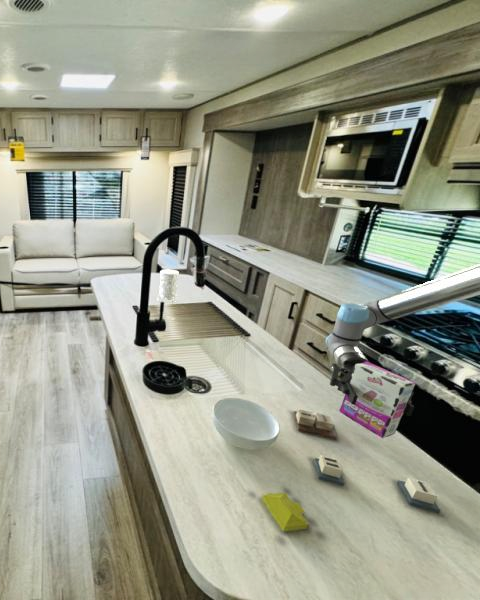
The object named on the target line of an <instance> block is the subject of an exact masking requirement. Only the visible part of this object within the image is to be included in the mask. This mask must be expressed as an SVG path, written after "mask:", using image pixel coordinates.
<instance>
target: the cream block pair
mask: <svg viewBox="0 0 480 600" xmlns="http://www.w3.org/2000/svg"><path fill="white" fill-rule="evenodd" d="M292 415H293V417H294V421H295V425H296V428H297V431H298V432H302V433H305V434H310V435H313V436H318V437H322V438H326V439H330V440H333V441H336V440H337V436H336V435H337V434H336V432H335V430H334V425H335V424H334V422H333V420H332V418H331V415H326V414H322V413H317V412H315V414H313V412H312V411H309V410H304V409H300V408H298V409H297V410H293V412H292Z"/></svg>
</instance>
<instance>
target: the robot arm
mask: <svg viewBox="0 0 480 600" xmlns="http://www.w3.org/2000/svg"><path fill="white" fill-rule="evenodd" d="M476 296H480V264H477V265H474V266H471V267H469V268H466V269H462V270H460V271H457V272H454V273H452V274H448V275H446V276H442V277H440V278H436V279H434V280H431V281H427V282H425V283H423V284H419V285H416V286H414V287H411V288H407V289H406V290H402V291H399V292H396V293H394V294H391V295H388V296H385V297H383V298H379V299H376V300H374V301H369V302H367V303H364V304H360V303H354V302H349V303H348V302H347V303H343V304H341V306H340V308H339V310H338V312H337V314H336V319H335V322H334V327H333V330H332V333H330V334H329V335H327V336H326V338H325V346H326V350H327V351H328V352H329V354H330V355H331V357H332V358H333V360H334V361H335V363H331V367H330V370H329V371H330V373H331V376H330V381H329V385H330V386H331V387H337V391H339V392H341V393H342V394H343V395H345V394H346V395H347V397H348V399H349V400H350V402H351V404H353V405H355V404H356V401H357V398H358V396H357V394H356V392H355V391H354V389H353V387H352V386H351V384H350V383H349V382H350V379H351V376H352V372H353V369H354V367H355V364H359V363H363V362H369V363H371V362H370V361H369V360H368V358H367V357H366V355H364V353H363V352H362V350H361V349H360V348H359V345H360V342H361V340H362V337H363V333H364V332H365V330H366V329H368V328H371V327H374V326H376V325H379V324H382V323H386V322H390V321H392V320H396V319H399V318H403V317H406V316H410V315H413V314H417V313H420V312H423V311H427V310H430V309H435V308H438V307H441V306H445V305H449V304H452V303H455V302H459V301H462V300H466V299H470V298H473V297H476ZM339 373H342V374H343V375H344V376H343V377H342V378H340V379H338V377H339ZM413 395H414V390H413V391H412V394H411V396H410V398H409V401H408V403H407V405H406V408H405V410H404V412H403V413H404V414H405V415H406V416H409V417H411V416H412V414H413V412H414V409H415V406H414V405H413V403H412V402H413V400H412V398H413Z"/></svg>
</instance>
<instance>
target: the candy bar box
mask: <svg viewBox="0 0 480 600" xmlns="http://www.w3.org/2000/svg"><path fill="white" fill-rule="evenodd" d="M369 362H370V361H369ZM369 362H363V363H359V364H355V367H354V369H353V372H352V376H351V379H350V382H349V383H350V384H351V386H352V387H353V389H354V391H355V392H356V394H357V396H358V398H357V401H356V404H355V405H353V404H351V402H350V400H349V399H348V397H347V395H346V394H344V396H343V399H342V402H341V405H340V408H339V413H341V414H342V415H344V416H346V417H347V418H349V419H350V420H352V421H353V422H355V423H357V424H358V425H360V426H362V428H365V429H366V430H368V431H370V432H371V433H373V434H375V435H376V436H378V437H379V438H381V439H384V438H388V437H391V436H393V435H395V434H396V431H397V430H398V426H399V425H400V422H401V419H402V416H403V415H404V413H405V412H404V410H405V408H406V405H407V403H408V401H409V398H410V396H411V394H412V391H413V392H414V389H415V386H416V384H417V383H416V382H414V381H412V380H409V379H407V378H405V377H403V376H401V375H399V374H396V373H393V372H392V371H389V370H388V369H385V368H382V367H380V366H378V365H377V364H373V363H372V362H370V363H369Z"/></svg>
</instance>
